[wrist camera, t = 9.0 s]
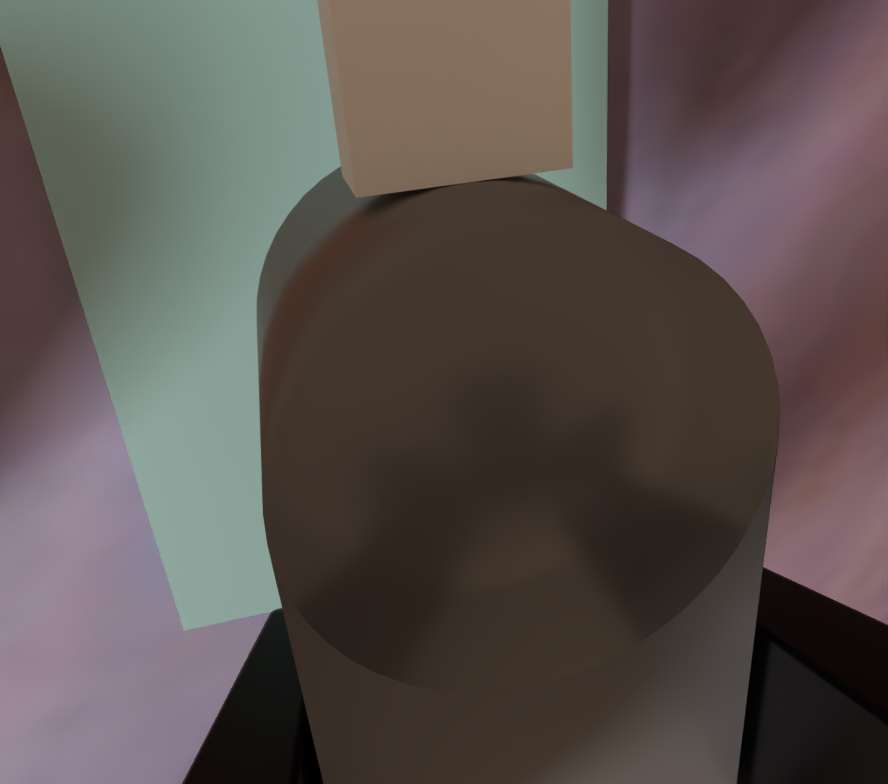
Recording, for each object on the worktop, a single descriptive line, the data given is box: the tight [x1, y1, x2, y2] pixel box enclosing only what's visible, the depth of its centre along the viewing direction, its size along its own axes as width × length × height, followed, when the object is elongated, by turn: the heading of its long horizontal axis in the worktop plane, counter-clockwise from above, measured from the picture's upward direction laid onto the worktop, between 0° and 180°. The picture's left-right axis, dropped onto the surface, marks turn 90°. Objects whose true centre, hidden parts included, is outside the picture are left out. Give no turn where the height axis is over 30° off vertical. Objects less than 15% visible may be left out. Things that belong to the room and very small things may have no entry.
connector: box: [257, 0, 780, 784], centre depth 8 cm, size 12×4×4 cm, turn 5°
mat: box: [0, 0, 608, 631], centre depth 18 cm, size 16×12×1 cm
